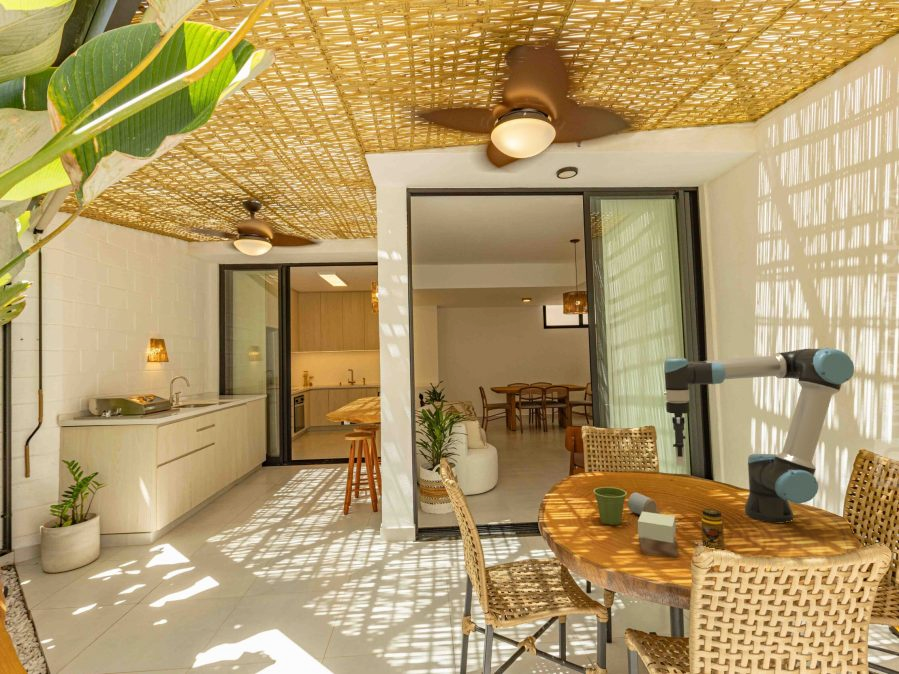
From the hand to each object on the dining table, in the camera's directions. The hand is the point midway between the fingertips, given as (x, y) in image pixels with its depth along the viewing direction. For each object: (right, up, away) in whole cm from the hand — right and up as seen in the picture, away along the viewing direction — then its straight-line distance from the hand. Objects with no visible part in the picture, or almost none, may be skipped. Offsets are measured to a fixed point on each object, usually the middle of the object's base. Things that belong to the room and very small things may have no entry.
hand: (680, 461), depth 168 cm
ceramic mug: (-7, -25, +15) cm, 29 cm away
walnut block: (-16, -24, -17) cm, 33 cm away
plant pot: (-22, -25, +7) cm, 34 cm away
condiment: (+2, -24, -17) cm, 29 cm away
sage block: (-16, -19, -17) cm, 30 cm away
